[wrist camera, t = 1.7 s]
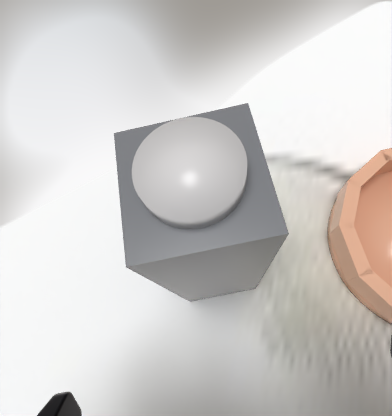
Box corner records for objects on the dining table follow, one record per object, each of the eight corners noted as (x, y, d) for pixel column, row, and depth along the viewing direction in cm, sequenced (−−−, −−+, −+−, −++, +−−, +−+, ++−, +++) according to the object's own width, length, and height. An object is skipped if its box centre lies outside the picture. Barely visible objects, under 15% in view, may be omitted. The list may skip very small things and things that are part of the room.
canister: (255, 288, 20) (294, 224, 7) (189, 301, 20) (115, 261, 7) (239, 225, 22) (248, 84, 9) (179, 238, 22) (104, 117, 9)
